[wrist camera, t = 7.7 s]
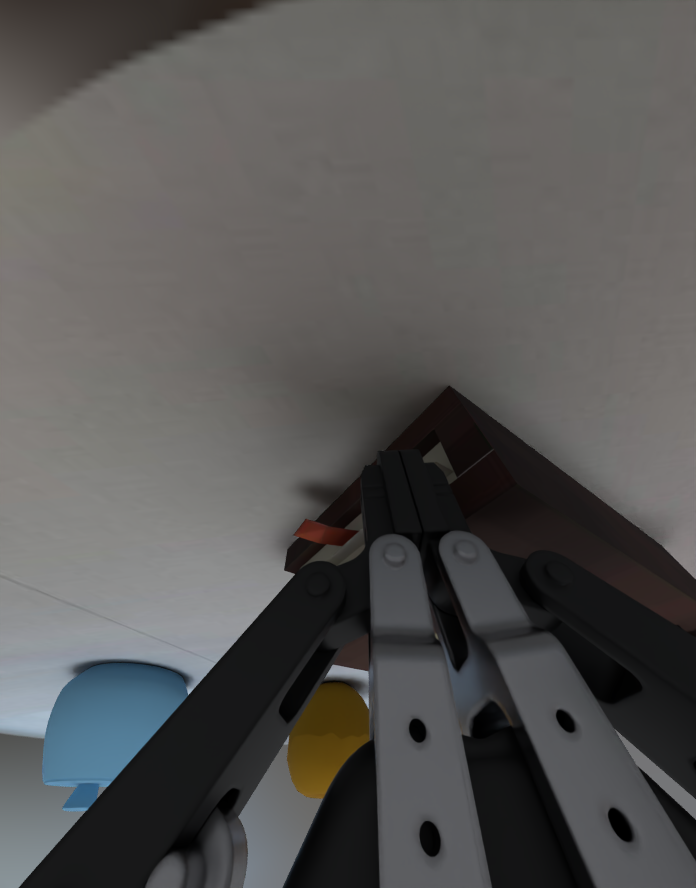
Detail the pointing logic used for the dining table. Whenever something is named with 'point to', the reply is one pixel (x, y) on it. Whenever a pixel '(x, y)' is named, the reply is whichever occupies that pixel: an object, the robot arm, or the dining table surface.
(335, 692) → the apple
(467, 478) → the decorative book
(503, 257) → the dining table surface
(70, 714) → the sugar bowl
